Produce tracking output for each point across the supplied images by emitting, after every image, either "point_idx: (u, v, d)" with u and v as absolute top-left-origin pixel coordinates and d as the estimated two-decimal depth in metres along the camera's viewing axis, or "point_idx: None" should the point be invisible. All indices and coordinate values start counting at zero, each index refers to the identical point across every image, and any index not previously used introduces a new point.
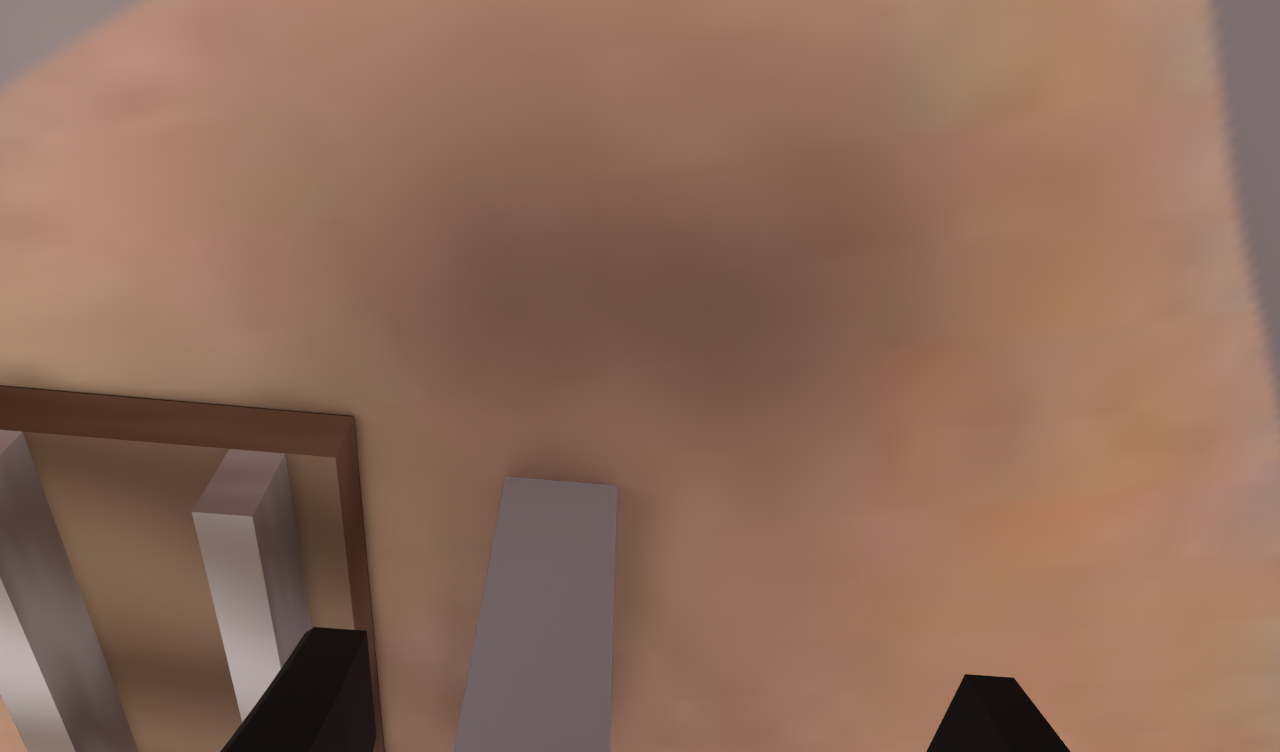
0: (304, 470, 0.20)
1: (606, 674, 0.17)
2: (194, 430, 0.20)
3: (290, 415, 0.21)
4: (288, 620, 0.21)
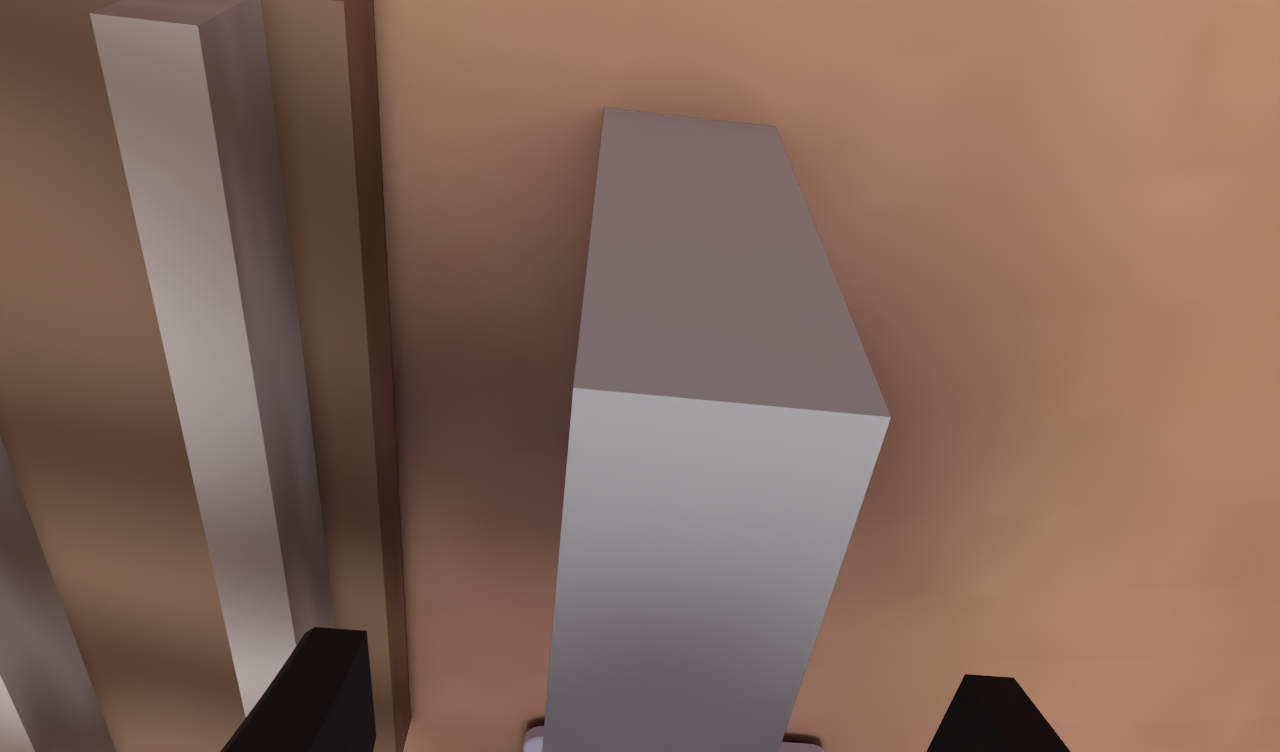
0: (292, 30, 0.12)
1: (830, 289, 0.10)
2: None
3: None
4: (266, 305, 0.13)
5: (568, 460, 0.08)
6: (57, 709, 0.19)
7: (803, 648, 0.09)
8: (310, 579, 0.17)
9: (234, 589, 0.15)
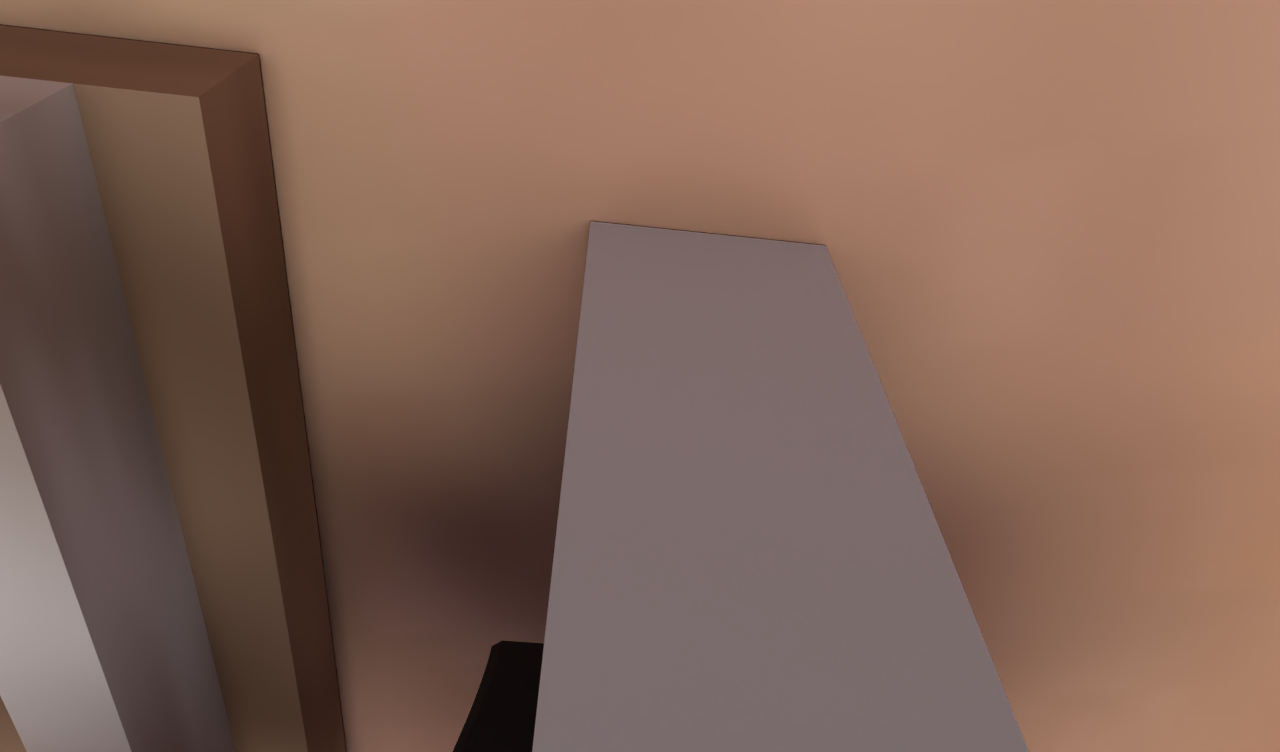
0: (126, 137, 0.08)
1: (961, 623, 0.06)
2: None
3: (111, 42, 0.09)
4: (108, 516, 0.09)
5: None
6: None
7: None
8: None
9: None
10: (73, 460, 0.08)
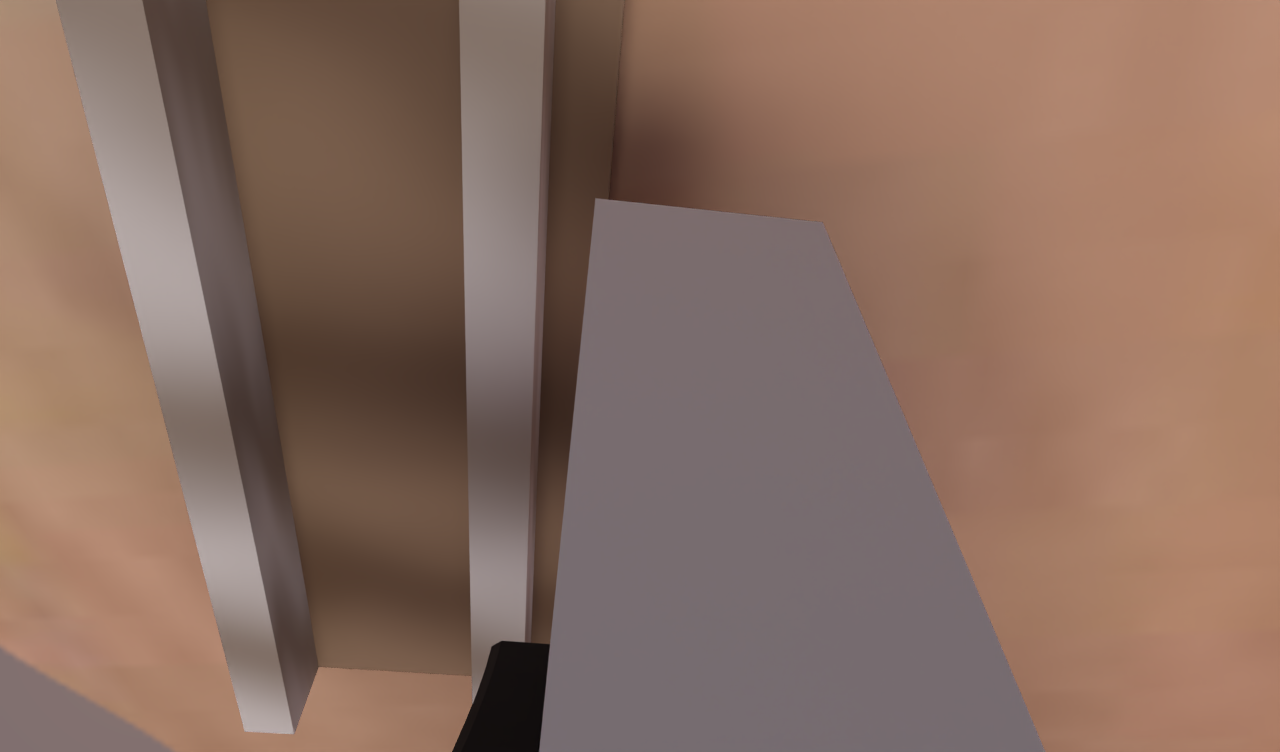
0: None
1: (948, 558, 0.06)
2: None
3: None
4: (542, 223, 0.15)
5: None
6: (288, 613, 0.21)
7: None
8: (533, 483, 0.19)
9: (483, 485, 0.17)
10: (542, 175, 0.14)
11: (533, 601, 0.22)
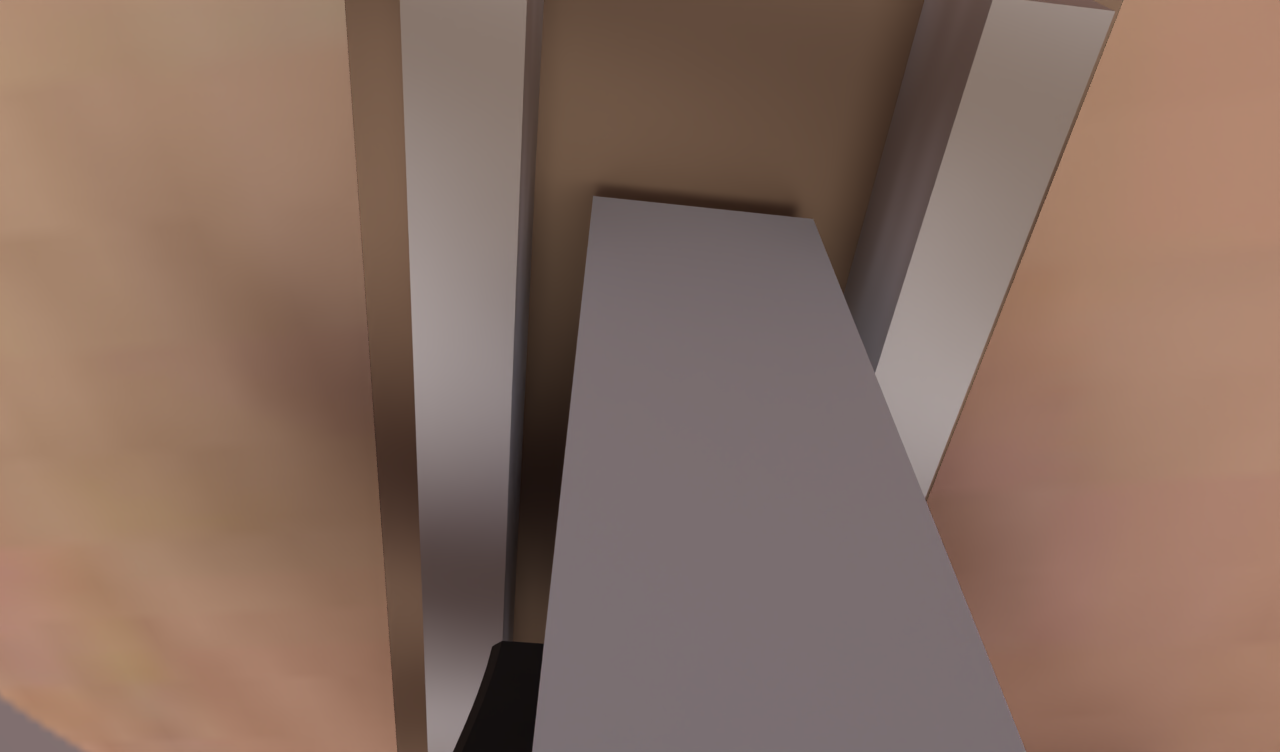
0: None
1: (925, 533, 0.06)
2: None
3: None
4: None
5: None
6: None
7: None
8: None
9: None
10: None
11: None
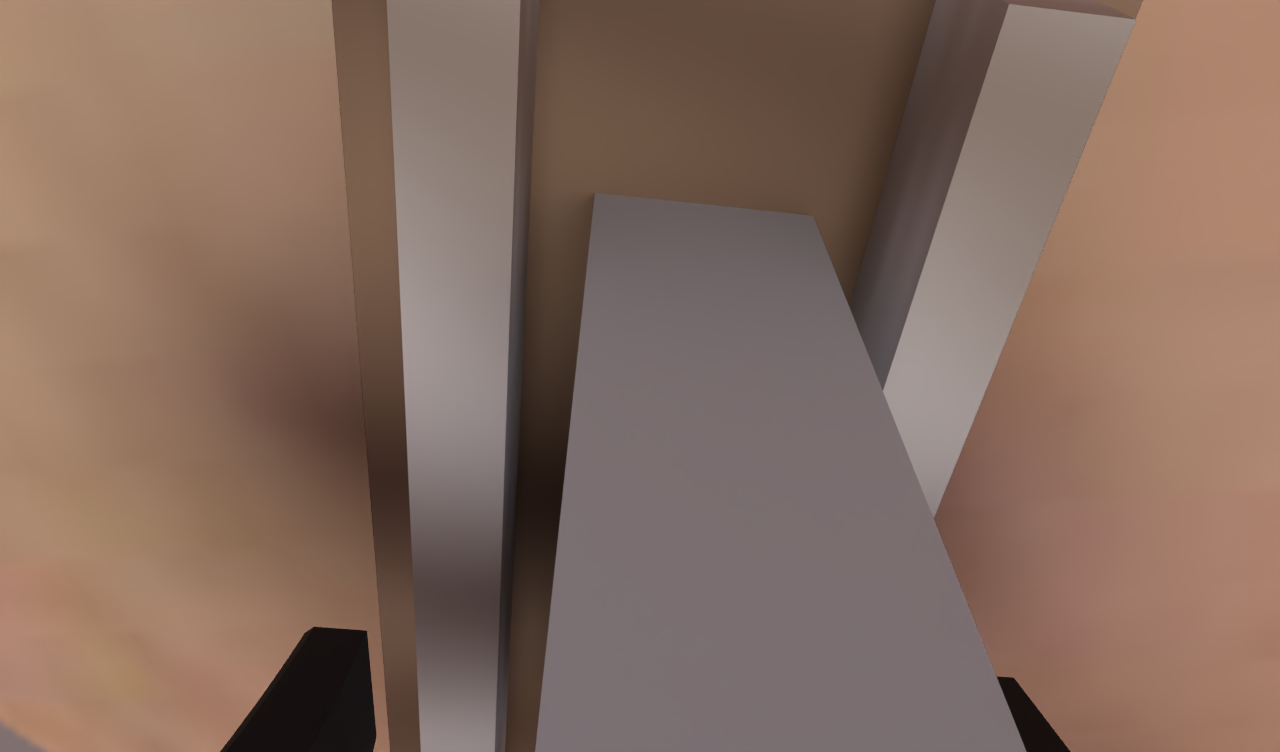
0: None
1: (922, 524, 0.07)
2: None
3: None
4: None
5: None
6: None
7: None
8: None
9: None
10: None
11: None
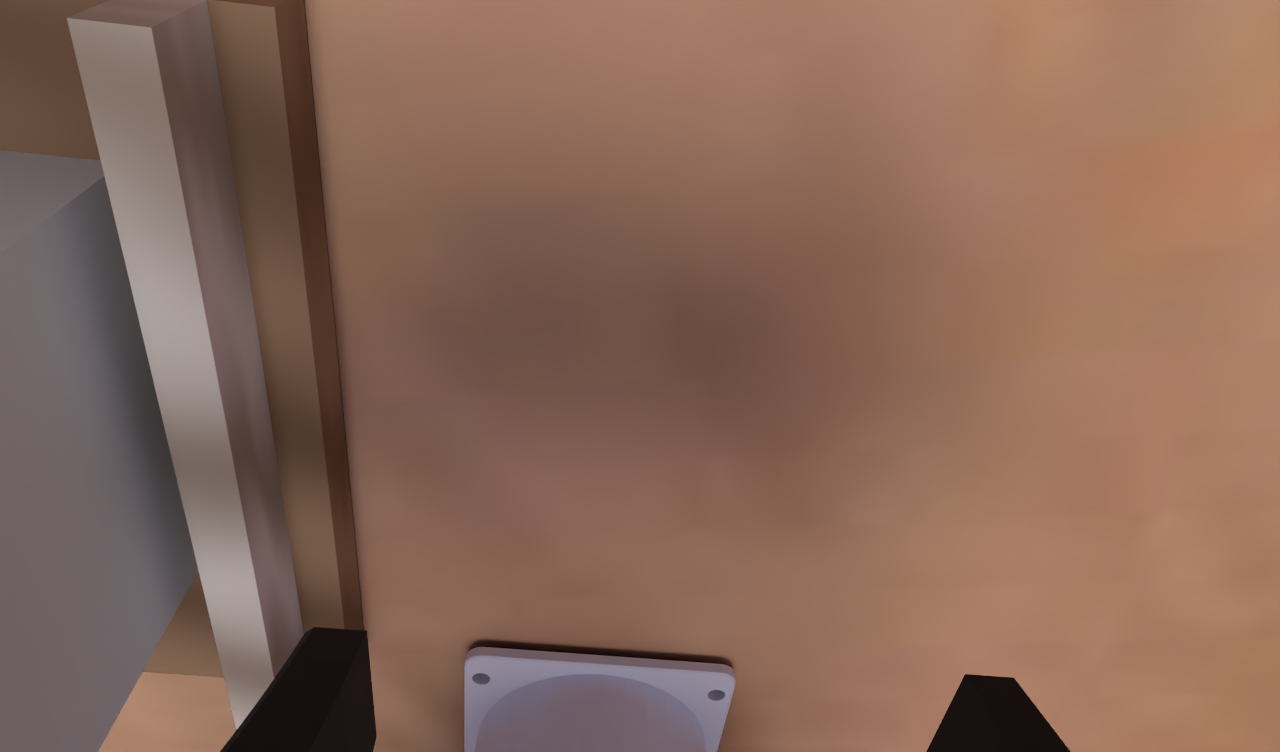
0: (233, 30, 0.15)
1: None
2: None
3: None
4: (216, 256, 0.16)
5: None
6: None
7: None
8: (263, 498, 0.19)
9: (196, 500, 0.18)
10: (202, 212, 0.15)
11: (300, 608, 0.23)
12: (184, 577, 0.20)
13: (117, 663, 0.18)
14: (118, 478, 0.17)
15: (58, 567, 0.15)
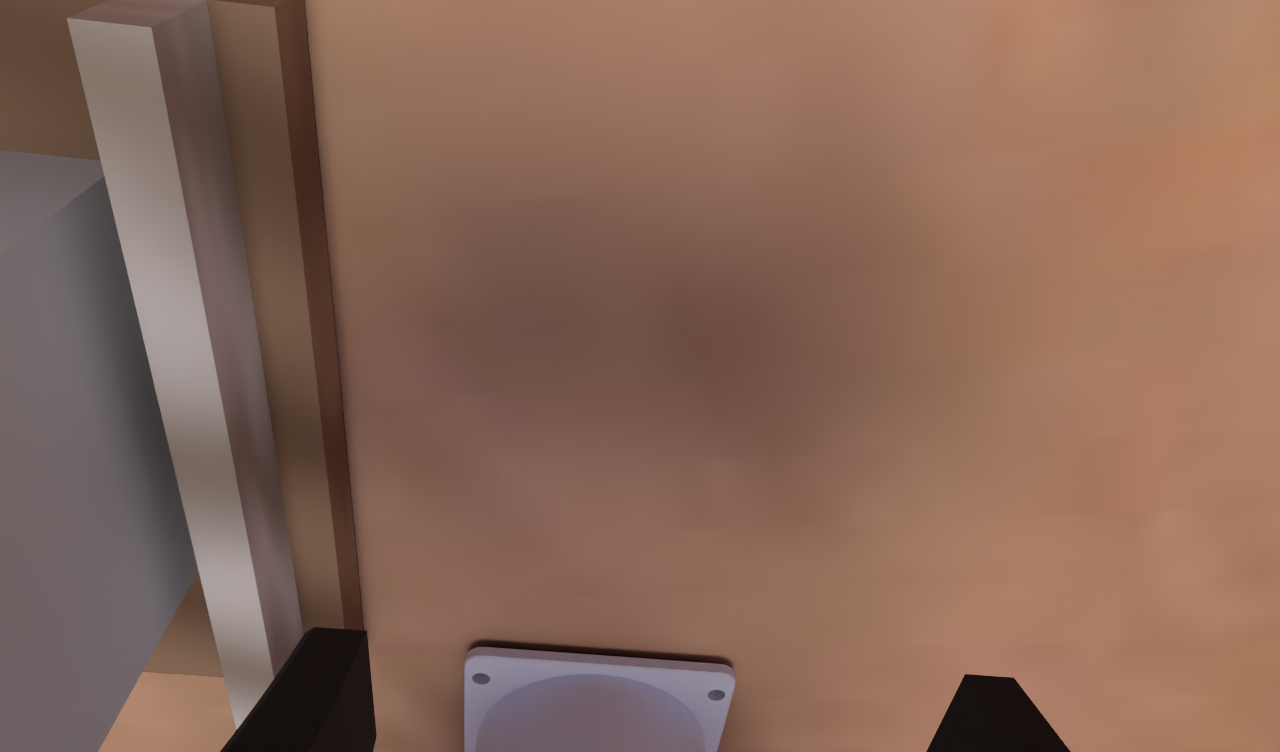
0: (233, 30, 0.15)
1: None
2: None
3: None
4: (216, 256, 0.16)
5: None
6: None
7: None
8: (263, 498, 0.19)
9: (196, 500, 0.18)
10: (202, 212, 0.15)
11: (300, 608, 0.23)
12: (184, 577, 0.20)
13: (117, 663, 0.18)
14: (118, 478, 0.17)
15: (58, 567, 0.15)
